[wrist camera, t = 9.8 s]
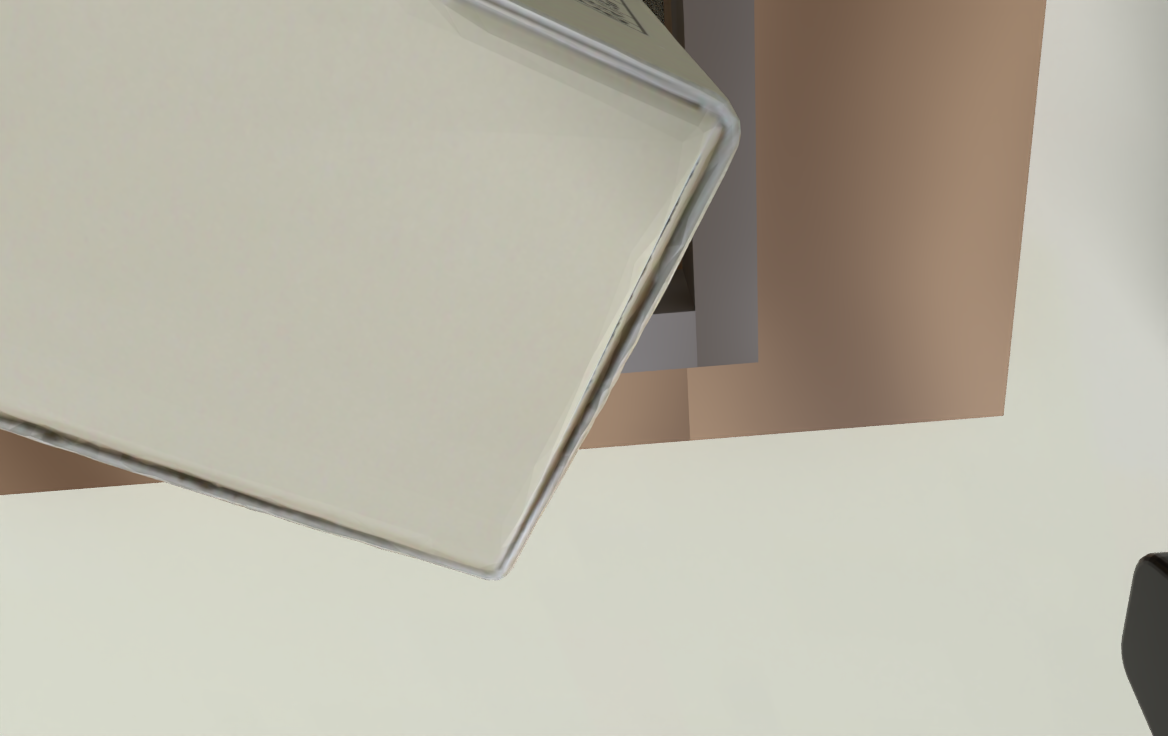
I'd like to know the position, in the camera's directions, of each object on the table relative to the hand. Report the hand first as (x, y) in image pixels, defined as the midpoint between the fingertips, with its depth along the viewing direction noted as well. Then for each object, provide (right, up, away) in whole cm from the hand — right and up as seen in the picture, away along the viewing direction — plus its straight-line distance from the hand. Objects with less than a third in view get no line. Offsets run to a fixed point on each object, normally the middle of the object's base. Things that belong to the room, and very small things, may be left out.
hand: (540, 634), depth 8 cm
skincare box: (-3, +8, +10) cm, 13 cm away
